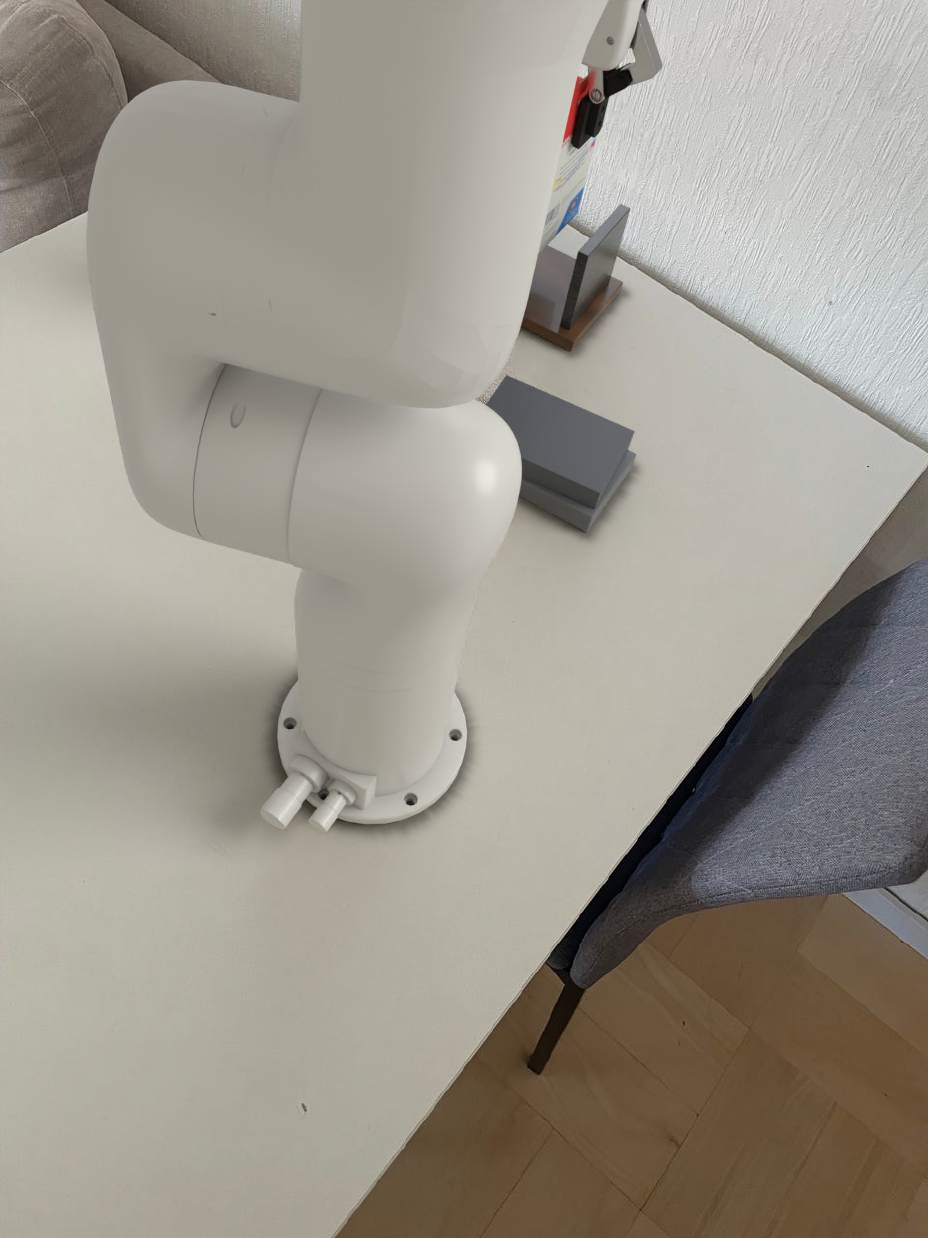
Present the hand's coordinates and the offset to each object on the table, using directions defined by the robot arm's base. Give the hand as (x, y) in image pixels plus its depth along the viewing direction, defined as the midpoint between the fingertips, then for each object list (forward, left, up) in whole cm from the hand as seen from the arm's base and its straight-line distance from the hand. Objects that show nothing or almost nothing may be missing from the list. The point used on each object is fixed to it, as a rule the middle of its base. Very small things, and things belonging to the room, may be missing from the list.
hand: (552, 123), depth 81 cm
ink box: (0, 0, -10) cm, 10 cm away
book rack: (0, +3, -16) cm, 16 cm away
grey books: (-18, -13, -16) cm, 27 cm away
